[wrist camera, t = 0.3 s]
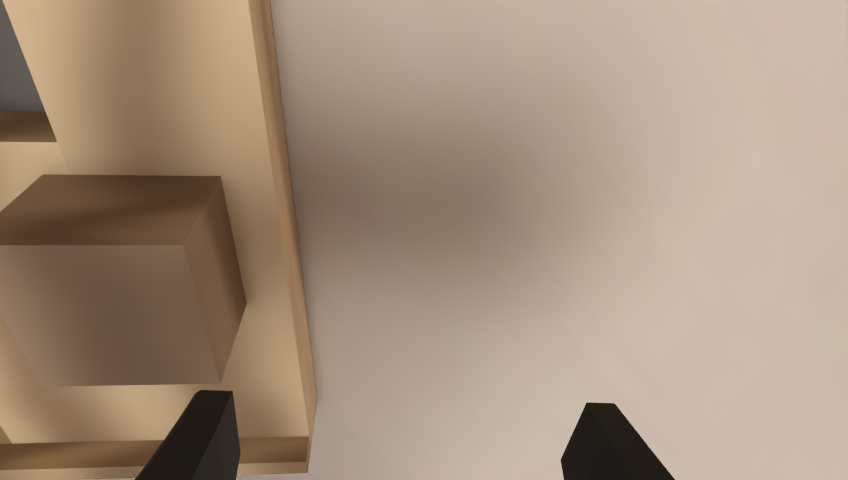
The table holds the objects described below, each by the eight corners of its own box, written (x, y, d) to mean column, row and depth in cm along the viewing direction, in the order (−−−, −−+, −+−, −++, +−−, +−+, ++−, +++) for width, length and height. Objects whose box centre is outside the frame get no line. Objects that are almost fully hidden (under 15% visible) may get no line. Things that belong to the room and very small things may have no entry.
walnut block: (220, 175, 15) (182, 245, 13) (246, 303, 18) (220, 383, 15) (42, 174, 15) (-38, 245, 12) (97, 304, 18) (42, 386, 15)
